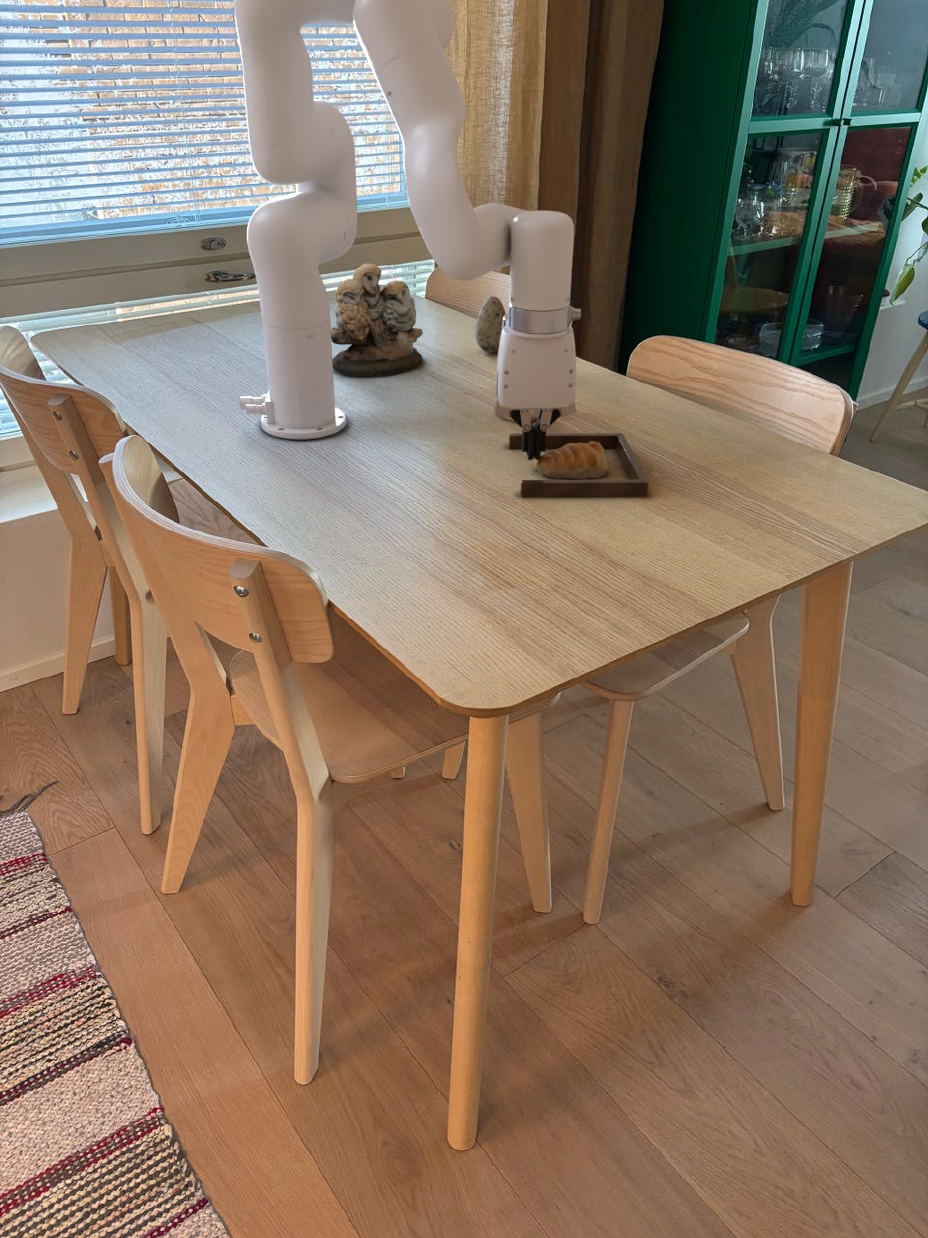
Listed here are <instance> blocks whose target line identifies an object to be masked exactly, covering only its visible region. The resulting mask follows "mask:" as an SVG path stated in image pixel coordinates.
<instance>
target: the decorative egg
mask: <svg viewBox="0 0 928 1238" xmlns="http://www.w3.org/2000/svg"><path fill="white" fill-rule="evenodd" d="M505 314H507V313H506V309H505V307H504V305H503V303H502V301H501V300H500V299H499V298H498V297H497V296H494V295H492V296H489V297H488V298H486V299H485V301H484V302H483V303H482V305H481V307H480V309H479V312H478V314H477V318H476V322H475V330H474V334H475V335H474V336H475V340H476V343H477V345H478V347H479V348H480V349H481V350H483V351H484V352H486V353H490V354H494V353H498V351H499V343H500V338H501V333H502V325H503V316H504V315H505Z"/></svg>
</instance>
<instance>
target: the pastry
mask: <svg viewBox="0 0 928 1238" xmlns="http://www.w3.org/2000/svg"><path fill="white" fill-rule="evenodd" d="M605 454H606V453H605V449H603V447H602V445H601V444H600V443H599V442H594V441H590V442H589V443H575V444H574V443H569V444H566V445H564V446H563V447H561V448H559V449H550V450H549V451H548V452H546V453H543V454H542V455H540V460H536V465H535V469H536V470H537V471H538V472H540V473H541V474H543V475H545V476H546V477H549V478H551V479H554V478H555V480H561V479H565V480H587V479H588V478H591V479H599V478H601V477H602V476H604V475H605V473H607V472H608V469H609V468H608V467H609V466H608V459H607V457H606V455H605Z"/></svg>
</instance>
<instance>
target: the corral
mask: <svg viewBox="0 0 928 1238" xmlns="http://www.w3.org/2000/svg"><path fill="white" fill-rule="evenodd" d="M590 441H594V442H599V443H600V444H601V445H602V447H603V449H604V450H605V449H607V450H609V449H611V450H613V449H616V451H617V454H618V455H619V458H620V459H621V461H622V464H623V465H624V467H625V469H626V471H627V474H628V476H629V478H630V479H521V480H520V492H519V493H520V497H521V498H593V497H594V498H597V497H598V498H599V497H600V498H602V497H604V498H605V497H610V498H611V497H612V498H613V497H614V498H615V497H616V498H617V497H623V498H625V497H647V496H648V491H649V481H648V479H647V476H646V475H645V473H644V471H643V469H642V467H641V465H640V463H639V461H638V459H637V457H636V455H635V454H634V452H633V449H632V448H631V446H630V444H629V442H628V440H627V438H626V436H625V434H624V433H622V432H614V433H613V432H608V433H607V432H604V433H603V432H593V433H592V432H591V433H590V432H588V433H587V432H584V433H583V432H581V433H579V432H577V433H576V432H573V433H571V432H570V433H569V432H567V433H565V432H564V433H563V432H562V433H561V432H560V433H557V432H556V433H554V432H551V433H550V432H549V433H548V432H546V442H545V450H557V449H559V448H561V447H563V446H564V445H566V444H569V443H574V444H575V443H589V442H590ZM508 449H509V450H522V433H520V432H519V433H517V432H515V433H514V432H513V433H512V432H511V433H510V432H509V434H508Z"/></svg>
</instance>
